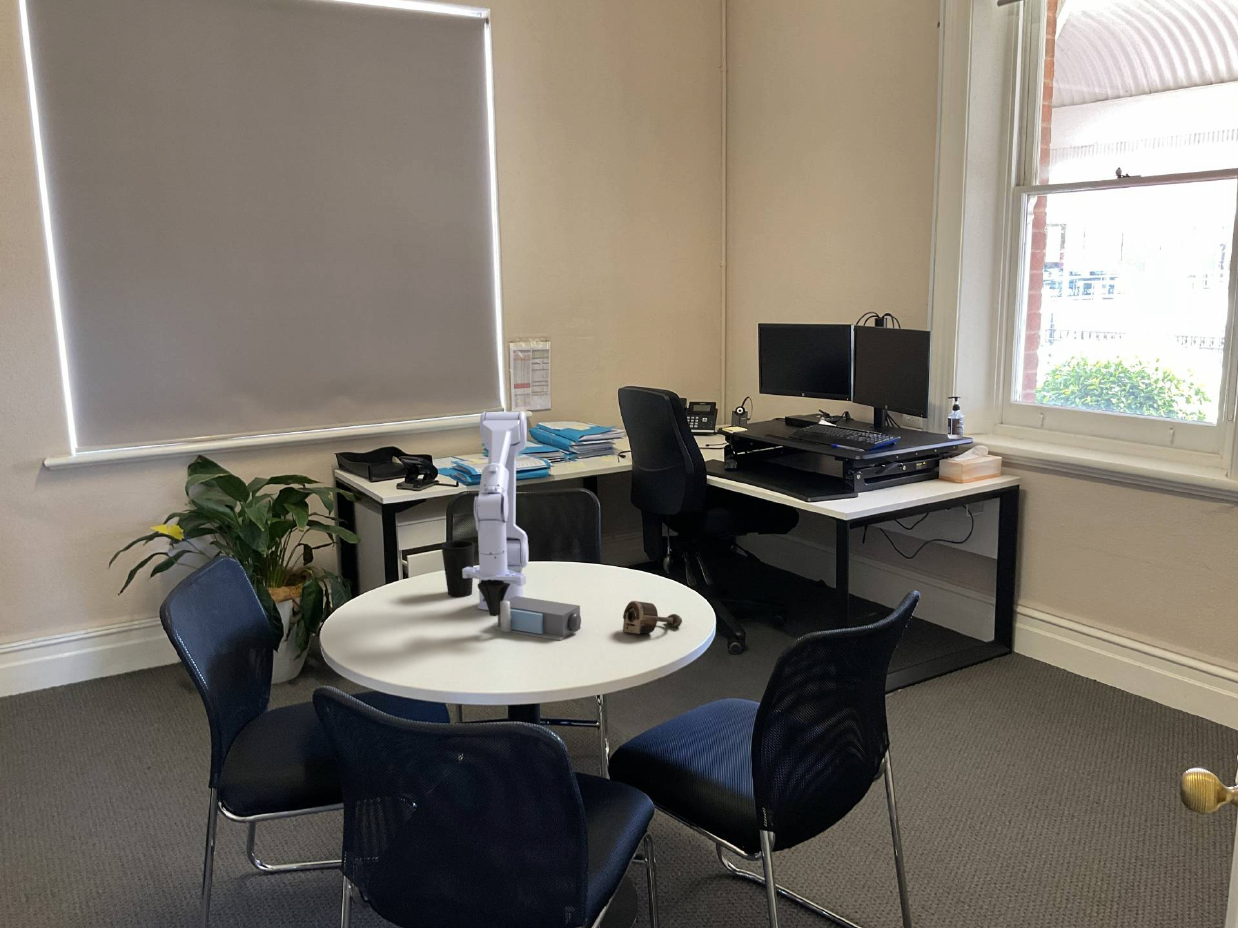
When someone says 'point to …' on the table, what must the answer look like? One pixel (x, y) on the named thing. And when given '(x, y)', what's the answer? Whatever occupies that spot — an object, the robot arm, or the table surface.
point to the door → (520, 619)
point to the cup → (458, 566)
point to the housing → (548, 617)
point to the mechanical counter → (645, 618)
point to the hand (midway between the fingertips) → (495, 614)
